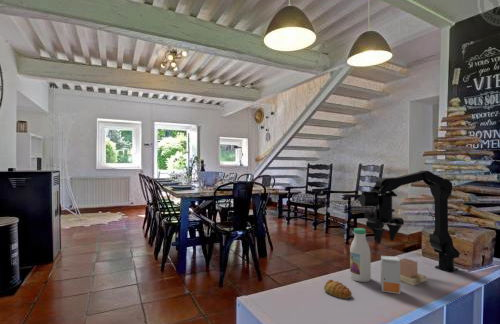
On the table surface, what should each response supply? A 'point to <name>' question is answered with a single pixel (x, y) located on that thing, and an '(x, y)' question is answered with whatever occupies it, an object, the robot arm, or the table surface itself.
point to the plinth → (412, 279)
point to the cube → (408, 267)
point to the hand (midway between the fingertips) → (385, 242)
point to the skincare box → (390, 274)
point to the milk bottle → (360, 257)
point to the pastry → (337, 289)
